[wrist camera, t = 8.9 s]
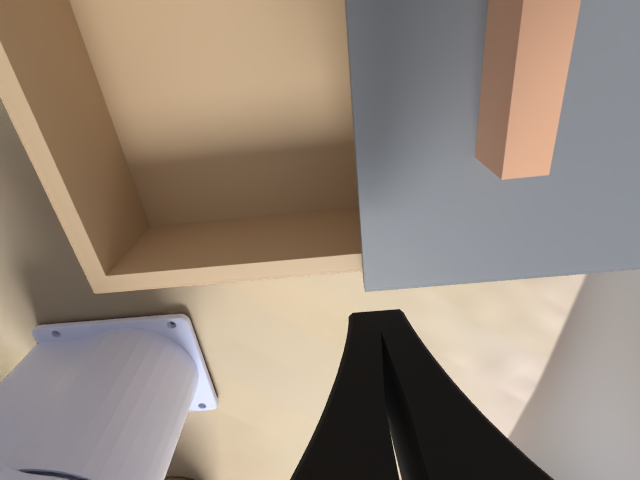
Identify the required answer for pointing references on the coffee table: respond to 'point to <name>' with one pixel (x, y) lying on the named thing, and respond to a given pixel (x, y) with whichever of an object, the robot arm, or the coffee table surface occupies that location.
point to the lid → (495, 138)
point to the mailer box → (188, 135)
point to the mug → (176, 478)
